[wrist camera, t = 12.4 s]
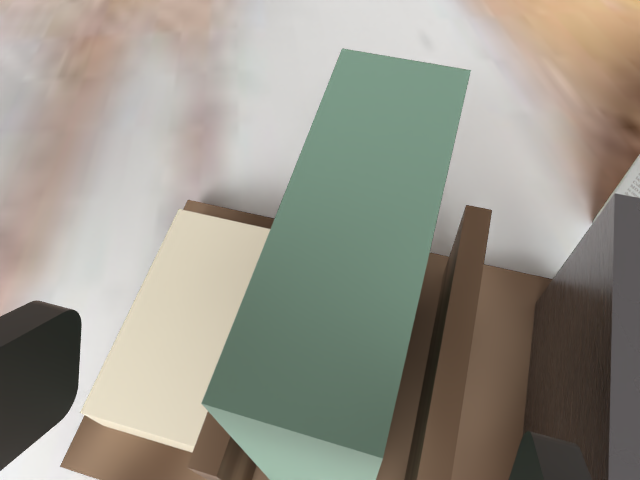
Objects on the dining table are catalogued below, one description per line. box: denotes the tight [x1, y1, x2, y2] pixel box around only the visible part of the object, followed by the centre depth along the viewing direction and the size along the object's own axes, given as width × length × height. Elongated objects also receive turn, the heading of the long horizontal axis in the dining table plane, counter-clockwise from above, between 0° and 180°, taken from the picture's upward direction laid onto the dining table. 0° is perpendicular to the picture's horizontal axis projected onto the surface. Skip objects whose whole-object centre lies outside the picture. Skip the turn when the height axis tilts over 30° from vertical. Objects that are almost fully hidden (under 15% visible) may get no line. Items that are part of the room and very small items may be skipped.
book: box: [201, 49, 471, 480], centre depth 19 cm, size 4×10×14 cm, turn 163°
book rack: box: [60, 200, 553, 480], centre depth 23 cm, size 22×14×8 cm, turn 74°
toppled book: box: [80, 209, 270, 452], centre depth 25 cm, size 5×10×2 cm, turn 164°
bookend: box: [523, 193, 640, 480], centre depth 20 cm, size 1×11×9 cm, turn 165°
